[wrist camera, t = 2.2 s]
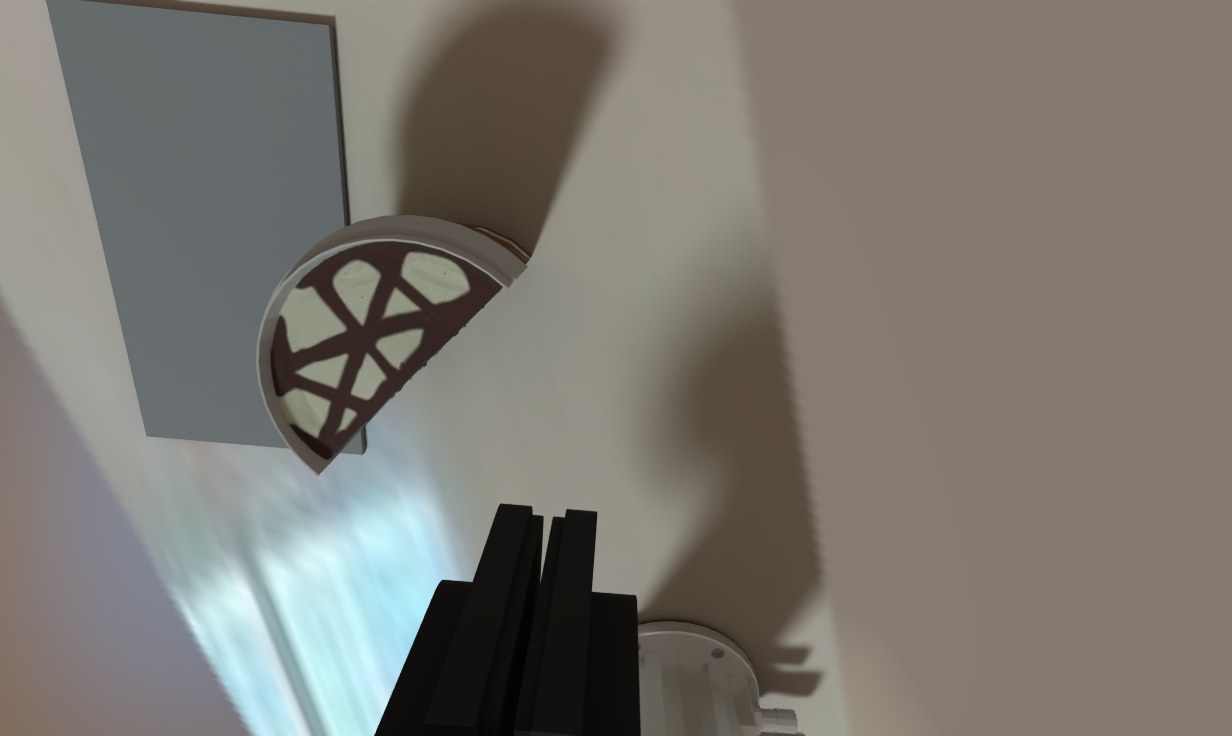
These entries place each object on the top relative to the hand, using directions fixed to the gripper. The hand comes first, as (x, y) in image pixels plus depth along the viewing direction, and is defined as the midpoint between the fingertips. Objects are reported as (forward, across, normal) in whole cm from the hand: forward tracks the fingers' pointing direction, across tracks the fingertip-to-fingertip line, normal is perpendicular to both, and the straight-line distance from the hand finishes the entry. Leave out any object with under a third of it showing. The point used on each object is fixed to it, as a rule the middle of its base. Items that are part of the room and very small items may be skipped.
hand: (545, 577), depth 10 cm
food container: (+22, +9, 0) cm, 24 cm away
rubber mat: (+22, +19, 0) cm, 29 cm away
